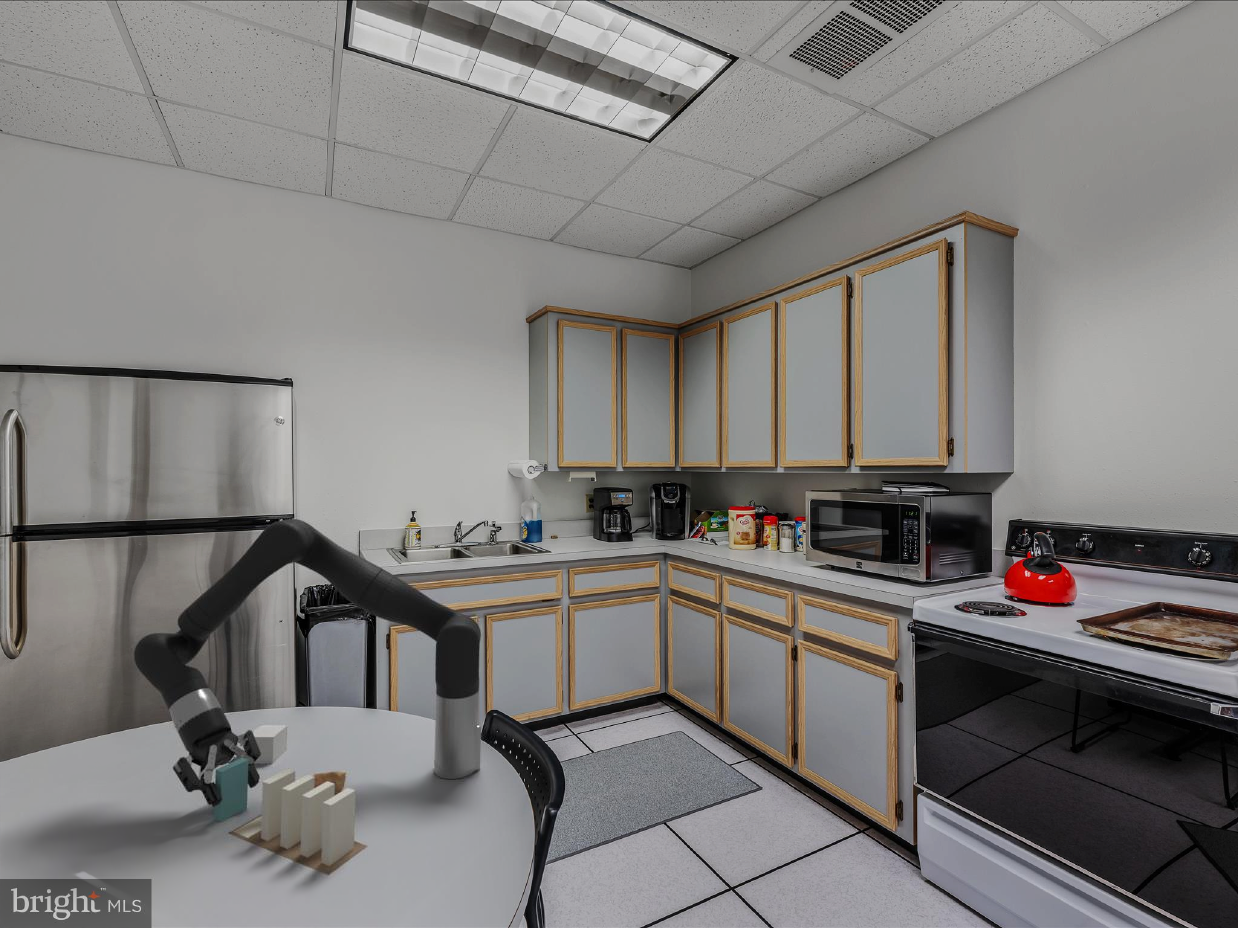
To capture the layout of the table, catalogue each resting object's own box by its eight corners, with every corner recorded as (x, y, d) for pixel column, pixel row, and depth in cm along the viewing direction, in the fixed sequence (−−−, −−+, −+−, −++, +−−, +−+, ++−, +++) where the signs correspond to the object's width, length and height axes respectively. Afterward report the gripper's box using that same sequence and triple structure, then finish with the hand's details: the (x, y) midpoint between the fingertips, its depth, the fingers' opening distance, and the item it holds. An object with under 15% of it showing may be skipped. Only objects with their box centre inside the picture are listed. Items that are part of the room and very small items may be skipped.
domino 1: (261, 838, 103) (262, 781, 103) (287, 822, 108) (288, 768, 108) (267, 840, 103) (269, 783, 103) (293, 825, 107) (295, 770, 107)
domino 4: (321, 862, 97) (323, 802, 97) (346, 845, 102) (347, 787, 102) (329, 865, 97) (330, 805, 97) (353, 848, 101) (355, 790, 101)
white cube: (286, 750, 137) (287, 725, 137) (272, 763, 131) (273, 736, 131) (260, 750, 136) (261, 725, 136) (245, 763, 130) (246, 736, 130)
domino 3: (300, 854, 99) (302, 795, 99) (325, 837, 104) (327, 781, 104) (307, 857, 98) (309, 797, 99) (333, 840, 103) (334, 783, 103)
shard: (340, 805, 116) (340, 796, 116) (297, 811, 114) (297, 802, 114) (347, 777, 126) (347, 769, 126) (308, 782, 124) (308, 774, 124)
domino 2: (280, 845, 101) (282, 788, 101) (306, 829, 106) (307, 774, 106) (287, 848, 100) (289, 790, 101) (313, 832, 105) (314, 776, 105)
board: (228, 837, 104) (228, 832, 104) (270, 813, 112) (270, 808, 112) (328, 879, 94) (328, 873, 94) (367, 850, 102) (367, 845, 102)
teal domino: (213, 823, 108) (215, 769, 109) (240, 809, 113) (242, 757, 113) (220, 826, 108) (221, 771, 108) (246, 811, 112) (248, 759, 112)
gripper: (167, 722, 107) (206, 803, 102) (245, 695, 120) (282, 765, 115) (149, 745, 109) (186, 825, 104) (227, 716, 122) (264, 786, 117)
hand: (237, 793), depth 110 cm, fingers open, 6 cm apart
